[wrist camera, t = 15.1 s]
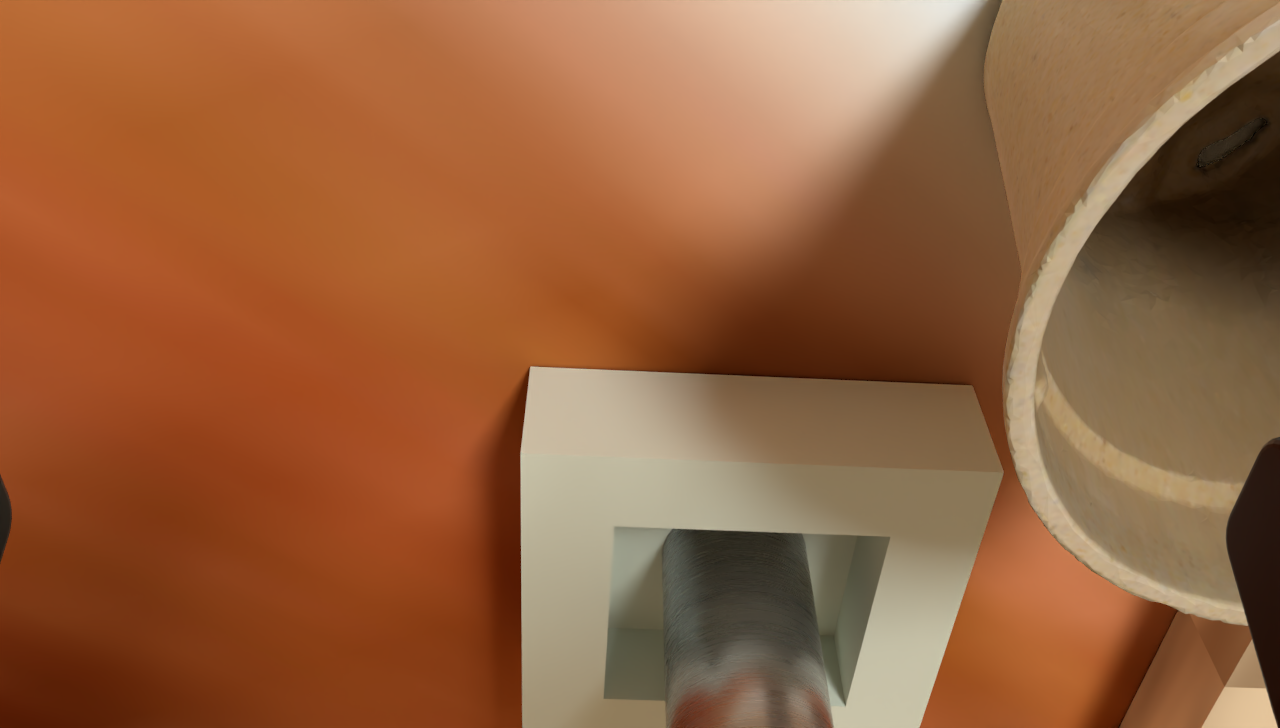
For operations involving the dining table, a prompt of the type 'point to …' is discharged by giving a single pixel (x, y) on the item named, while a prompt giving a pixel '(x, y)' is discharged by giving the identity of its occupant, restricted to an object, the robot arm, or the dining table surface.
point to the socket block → (1202, 680)
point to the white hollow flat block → (744, 526)
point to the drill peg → (741, 632)
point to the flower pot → (1141, 278)
